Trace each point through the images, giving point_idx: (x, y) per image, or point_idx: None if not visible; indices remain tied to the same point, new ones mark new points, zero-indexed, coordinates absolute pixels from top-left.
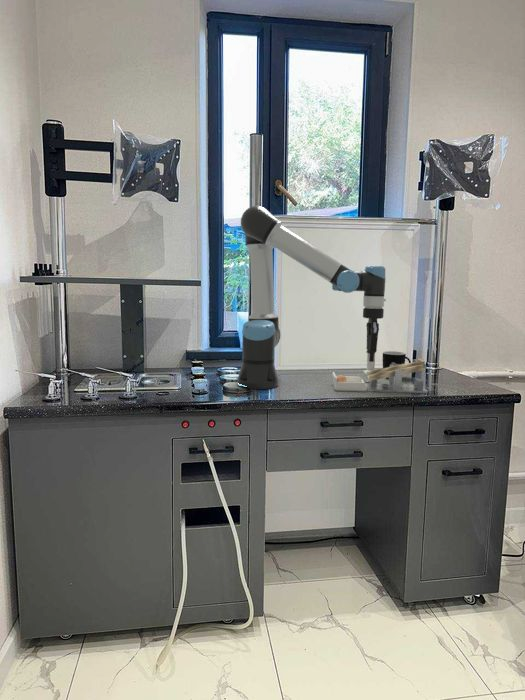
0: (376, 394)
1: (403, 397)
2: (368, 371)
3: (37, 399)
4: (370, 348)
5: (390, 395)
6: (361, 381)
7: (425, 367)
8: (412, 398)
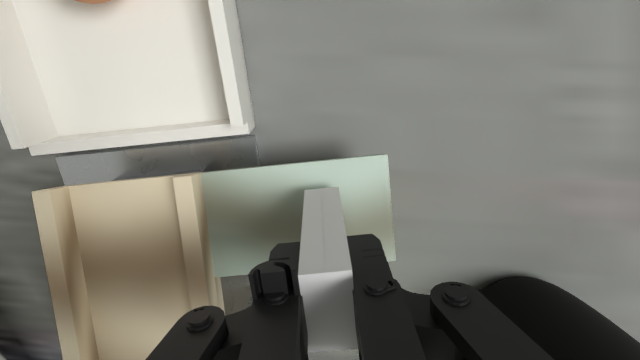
0: (4, 198)
1: (4, 320)
2: (189, 197)
3: None
4: (155, 355)
5: (18, 267)
6: (206, 124)
7: None
8: (4, 354)
